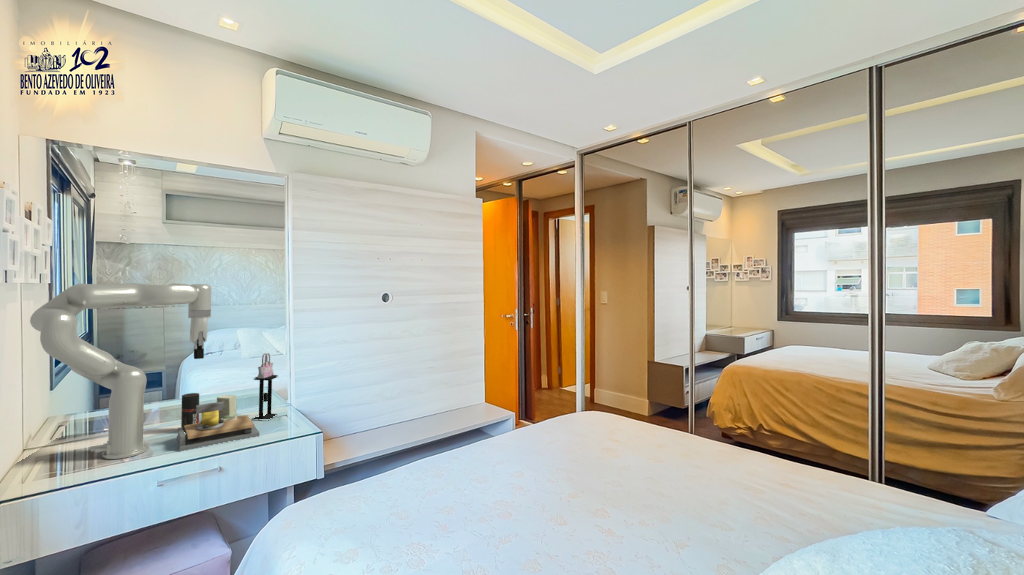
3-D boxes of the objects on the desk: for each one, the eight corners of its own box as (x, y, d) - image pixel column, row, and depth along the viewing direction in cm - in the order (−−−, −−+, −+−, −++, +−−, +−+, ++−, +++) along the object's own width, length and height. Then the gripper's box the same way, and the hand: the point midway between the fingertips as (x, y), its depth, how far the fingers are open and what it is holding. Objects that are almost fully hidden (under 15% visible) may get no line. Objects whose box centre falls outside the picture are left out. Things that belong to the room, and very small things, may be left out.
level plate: (187, 439, 161) (188, 412, 161) (184, 428, 172) (184, 403, 171) (254, 427, 176) (254, 402, 175) (246, 417, 186) (247, 394, 186)
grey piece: (180, 451, 160) (180, 438, 160) (176, 439, 170) (177, 427, 170) (259, 436, 177) (259, 424, 177) (252, 426, 188) (252, 414, 188)
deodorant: (191, 433, 177) (192, 397, 177) (177, 432, 177) (178, 396, 177) (202, 428, 183) (202, 393, 183) (188, 427, 183) (189, 392, 183)
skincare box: (236, 422, 192) (237, 395, 191) (229, 425, 187) (229, 398, 187) (223, 421, 192) (224, 394, 192) (215, 424, 188) (216, 397, 188)
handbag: (266, 421, 194) (268, 355, 193) (250, 421, 194) (251, 355, 193) (279, 414, 204) (281, 351, 203) (263, 413, 204) (265, 350, 203)
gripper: (186, 312, 180) (185, 356, 180) (190, 316, 168) (189, 362, 169) (208, 312, 185) (207, 354, 185) (213, 315, 173) (212, 360, 174)
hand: (198, 358), depth 177 cm, fingers closed
